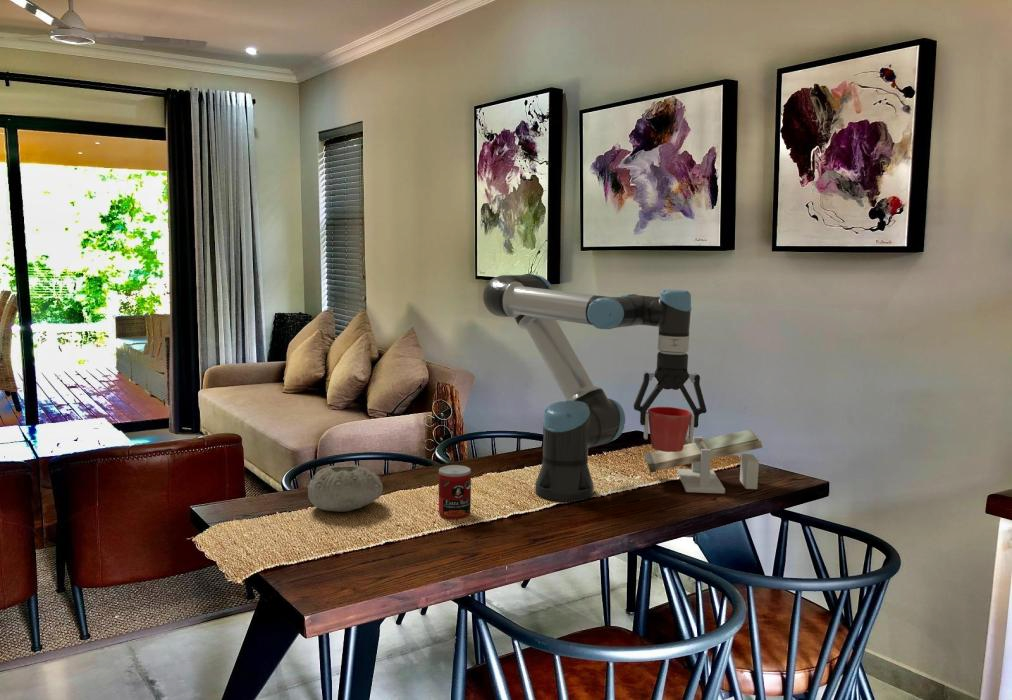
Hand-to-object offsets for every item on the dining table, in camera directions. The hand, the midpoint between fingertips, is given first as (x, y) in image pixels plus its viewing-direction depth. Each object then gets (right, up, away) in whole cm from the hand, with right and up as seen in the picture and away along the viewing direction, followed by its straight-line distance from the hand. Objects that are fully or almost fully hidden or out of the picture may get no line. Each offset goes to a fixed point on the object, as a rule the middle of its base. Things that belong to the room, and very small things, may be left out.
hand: (668, 438), depth 205 cm
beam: (+13, -6, +17) cm, 22 cm away
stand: (+17, -14, +17) cm, 28 cm away
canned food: (-53, -17, -11) cm, 57 cm away
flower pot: (0, -3, 0) cm, 3 cm away
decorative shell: (-80, -16, -7) cm, 82 cm away
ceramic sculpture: (+11, -11, +42) cm, 45 cm away
